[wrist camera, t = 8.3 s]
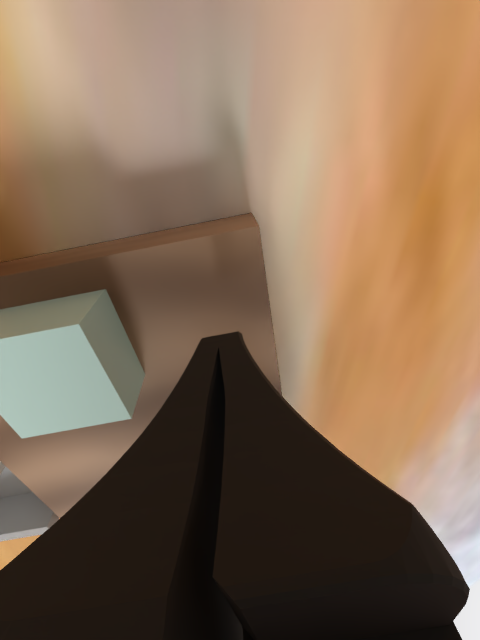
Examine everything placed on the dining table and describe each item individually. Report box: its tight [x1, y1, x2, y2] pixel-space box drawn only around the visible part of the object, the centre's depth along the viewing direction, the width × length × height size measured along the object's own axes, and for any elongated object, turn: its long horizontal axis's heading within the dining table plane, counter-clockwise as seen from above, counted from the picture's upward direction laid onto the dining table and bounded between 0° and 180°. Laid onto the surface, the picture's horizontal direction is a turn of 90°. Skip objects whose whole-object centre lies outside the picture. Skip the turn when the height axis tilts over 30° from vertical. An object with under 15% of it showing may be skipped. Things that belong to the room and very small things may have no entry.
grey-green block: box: [0, 289, 145, 438], centre depth 11 cm, size 4×4×3 cm
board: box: [0, 213, 282, 518], centre depth 16 cm, size 17×16×2 cm
